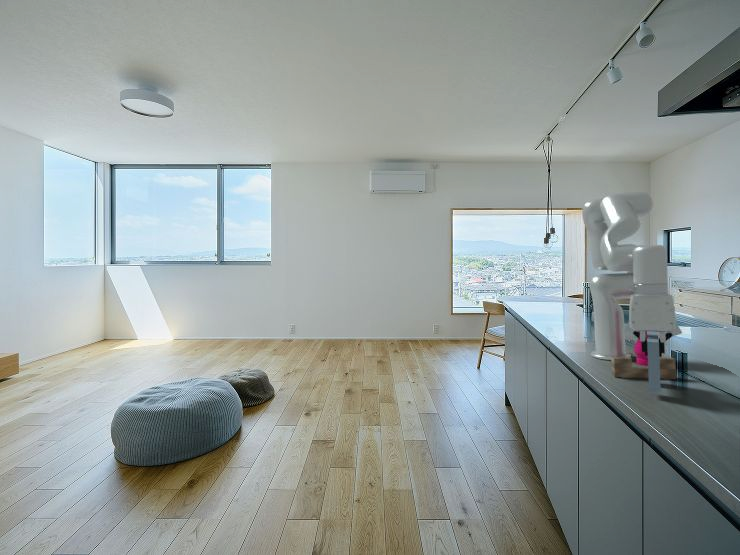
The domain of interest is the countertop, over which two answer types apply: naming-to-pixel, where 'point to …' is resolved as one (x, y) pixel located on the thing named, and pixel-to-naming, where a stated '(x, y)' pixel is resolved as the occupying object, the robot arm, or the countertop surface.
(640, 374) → the brown wooden u-shaped block
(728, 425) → the countertop surface
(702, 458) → the countertop surface
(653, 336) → the light blue flat board
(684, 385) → the countertop surface
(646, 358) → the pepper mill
